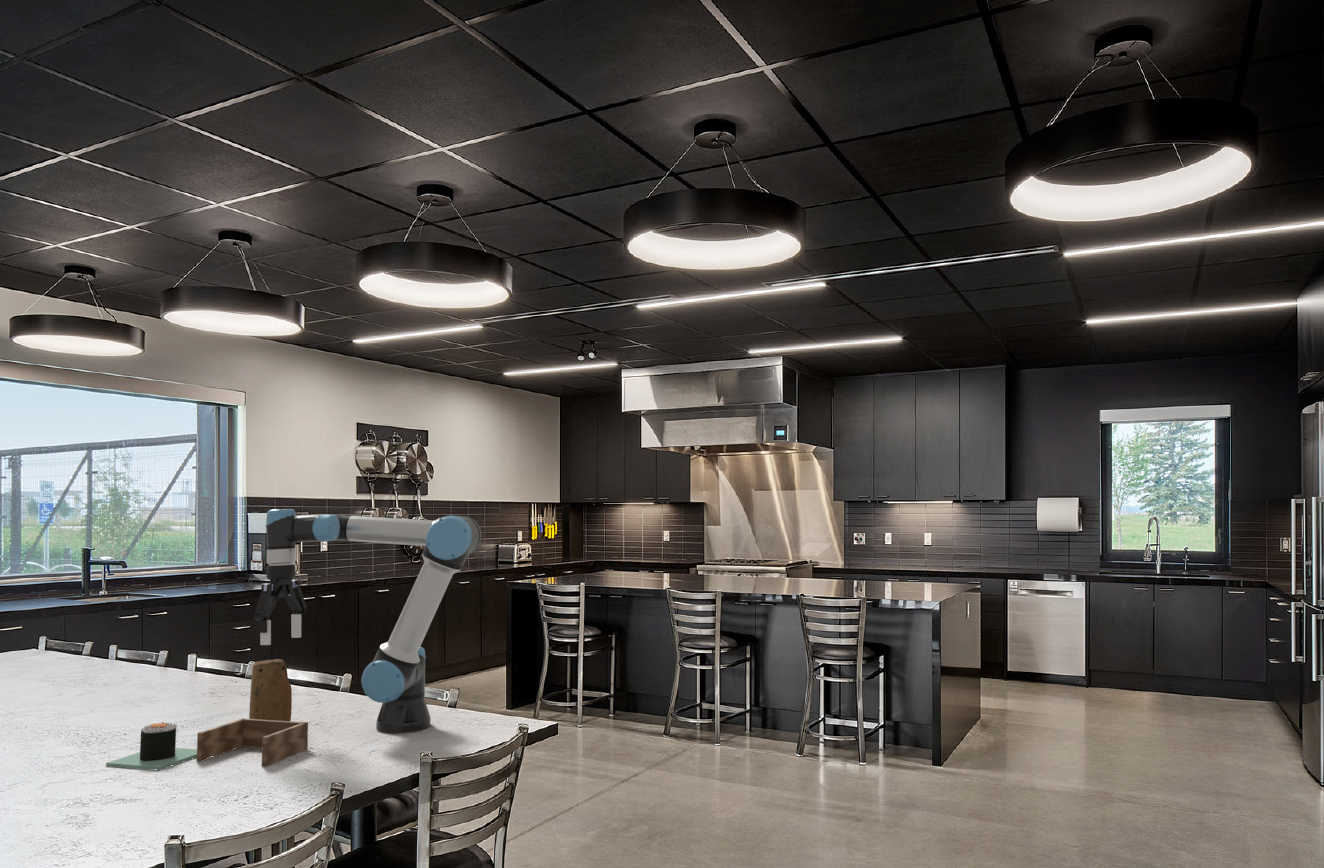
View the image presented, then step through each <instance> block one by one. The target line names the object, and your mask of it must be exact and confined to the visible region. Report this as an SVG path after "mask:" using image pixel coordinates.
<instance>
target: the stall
mask: <svg viewBox="0 0 1324 868" xmlns="http://www.w3.org/2000/svg"><path fill="white" fill-rule="evenodd" d="M196 738H197V740H196V742H197V743H196V749H197V757H196V762H199V761H201V762H204V761H206V760H208V759H207V758H209V757H211V756H215V757H217V756H220V755H222V754H221V753H223V752H226V753H228V752H231V751H233V750H232V749H234V748H237V749H239V747H240V748H242V747H244V746H246V747H245V748H258V747H260V749H261V767H268V766H270V765H273V764H275V763H276V764H277V763H279V762H280V761H283V760H286V759H288V758H290V757H289V756H291V757H292V756H294V755H297V753H298V754H300V753H303V752H305V751H308V744H309V742H308V740H309V739H308V738H309V722H305V721H276V720H260V719H249V718H240V719H237V720H234V721H229V722H227V723H225V724H221V725H218V726H215V727H212V728H208V729H206V730H201V731H199V732H197V737H196ZM230 750H231V751H230ZM234 750H235V749H234ZM227 751H228V752H227ZM299 752H300V753H299ZM219 754H220V755H219ZM223 754H224V753H223ZM216 755H217V756H216ZM287 757H288V758H287ZM285 758H286V759H285ZM205 759H206V760H205ZM209 759H210V758H209ZM203 760H204V761H203Z"/></svg>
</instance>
